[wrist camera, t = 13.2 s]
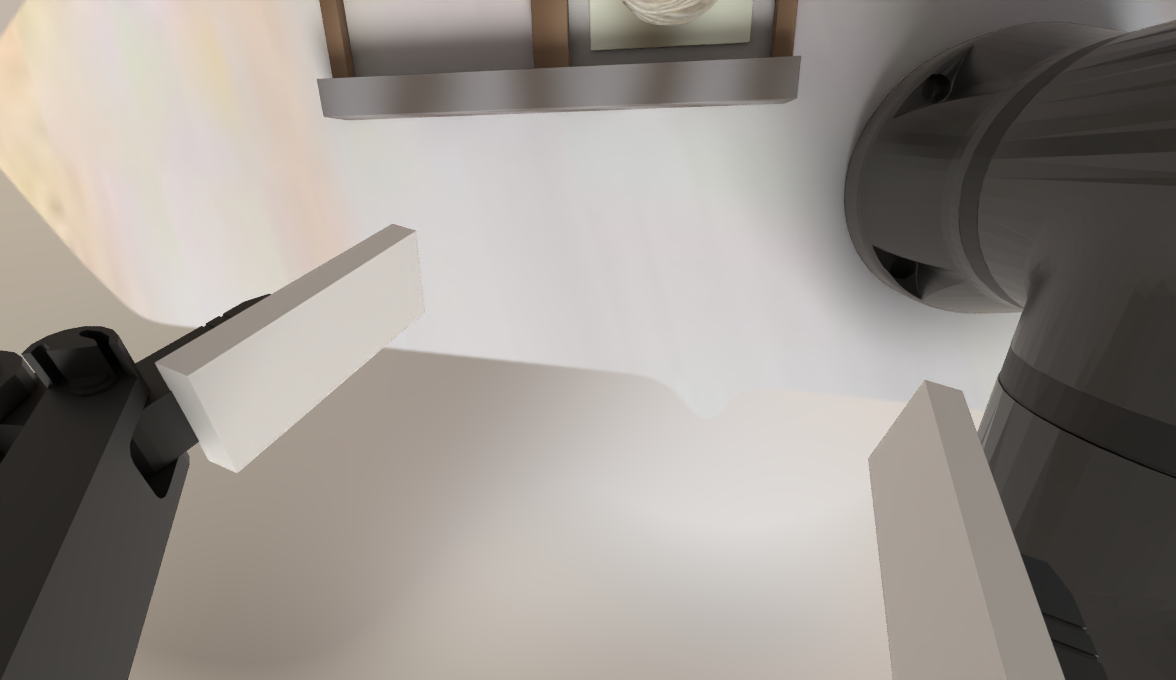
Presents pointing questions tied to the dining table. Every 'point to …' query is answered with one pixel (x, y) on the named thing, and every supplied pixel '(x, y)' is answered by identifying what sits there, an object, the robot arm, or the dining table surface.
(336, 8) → the rail board
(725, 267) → the dining table surface
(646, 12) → the carving
